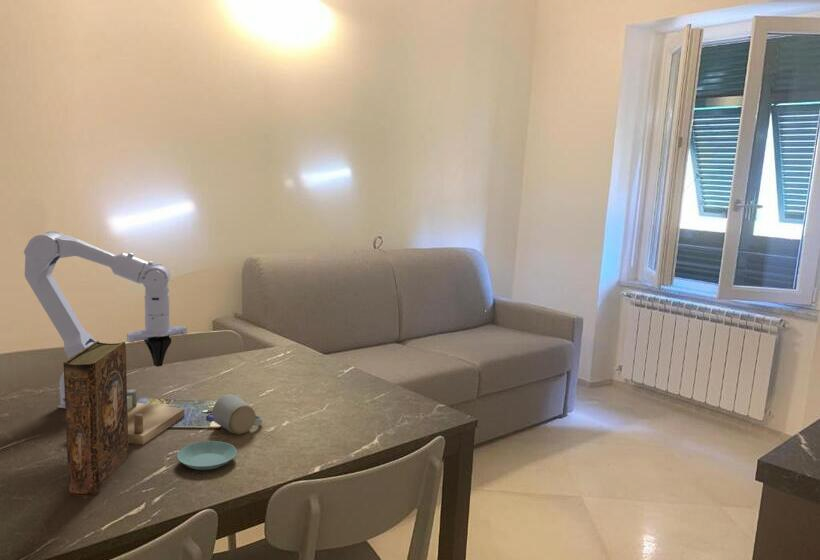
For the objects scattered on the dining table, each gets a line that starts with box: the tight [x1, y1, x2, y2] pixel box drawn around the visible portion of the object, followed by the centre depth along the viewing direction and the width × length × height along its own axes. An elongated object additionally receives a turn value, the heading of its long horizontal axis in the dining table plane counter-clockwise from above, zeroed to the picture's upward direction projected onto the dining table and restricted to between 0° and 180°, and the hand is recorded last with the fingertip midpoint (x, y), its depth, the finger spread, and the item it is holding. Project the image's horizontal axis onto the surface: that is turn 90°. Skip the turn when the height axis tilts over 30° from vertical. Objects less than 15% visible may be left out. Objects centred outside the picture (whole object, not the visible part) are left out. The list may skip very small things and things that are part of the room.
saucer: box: [176, 440, 238, 471], centre depth 131 cm, size 12×12×2 cm
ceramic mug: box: [212, 393, 263, 435], centre depth 148 cm, size 11×8×8 cm
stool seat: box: [127, 402, 185, 445], centre depth 147 cm, size 17×17×6 cm
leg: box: [127, 389, 138, 410], centre depth 148 cm, size 14×3×4 cm, turn 171°
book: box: [63, 340, 129, 497], centre depth 121 cm, size 16×6×25 cm, turn 5°
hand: (158, 365), depth 161 cm, fingers closed
